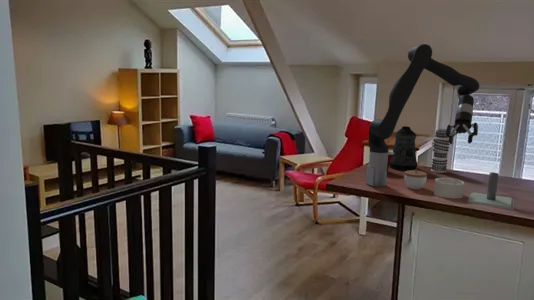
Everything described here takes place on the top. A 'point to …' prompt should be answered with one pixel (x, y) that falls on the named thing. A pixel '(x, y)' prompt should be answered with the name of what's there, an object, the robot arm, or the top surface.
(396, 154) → the beer stein
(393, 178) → the top surface
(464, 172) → the top surface
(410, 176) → the lidded jar
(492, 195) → the lid
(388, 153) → the plastic cup
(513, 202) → the mat
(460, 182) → the bowl
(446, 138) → the decorative candle
